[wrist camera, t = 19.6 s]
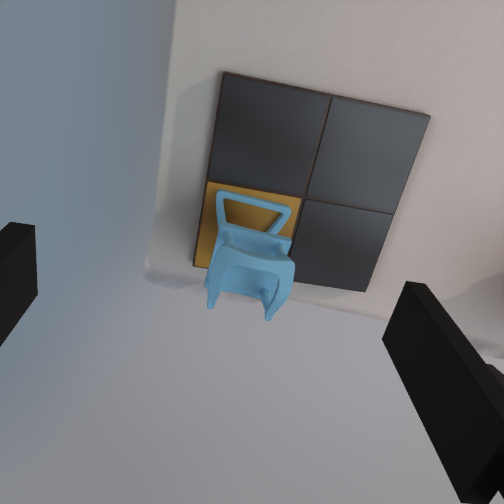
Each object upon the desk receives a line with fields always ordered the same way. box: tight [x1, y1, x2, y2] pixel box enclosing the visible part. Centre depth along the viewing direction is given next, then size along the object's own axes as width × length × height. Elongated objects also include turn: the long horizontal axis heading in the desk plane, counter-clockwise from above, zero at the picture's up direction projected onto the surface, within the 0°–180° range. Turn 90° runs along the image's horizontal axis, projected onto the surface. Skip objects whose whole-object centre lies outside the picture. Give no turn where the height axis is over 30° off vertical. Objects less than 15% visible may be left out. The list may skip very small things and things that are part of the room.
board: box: [193, 71, 431, 292], centre depth 44 cm, size 20×20×1 cm
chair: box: [204, 189, 295, 321], centre depth 40 cm, size 8×8×12 cm
